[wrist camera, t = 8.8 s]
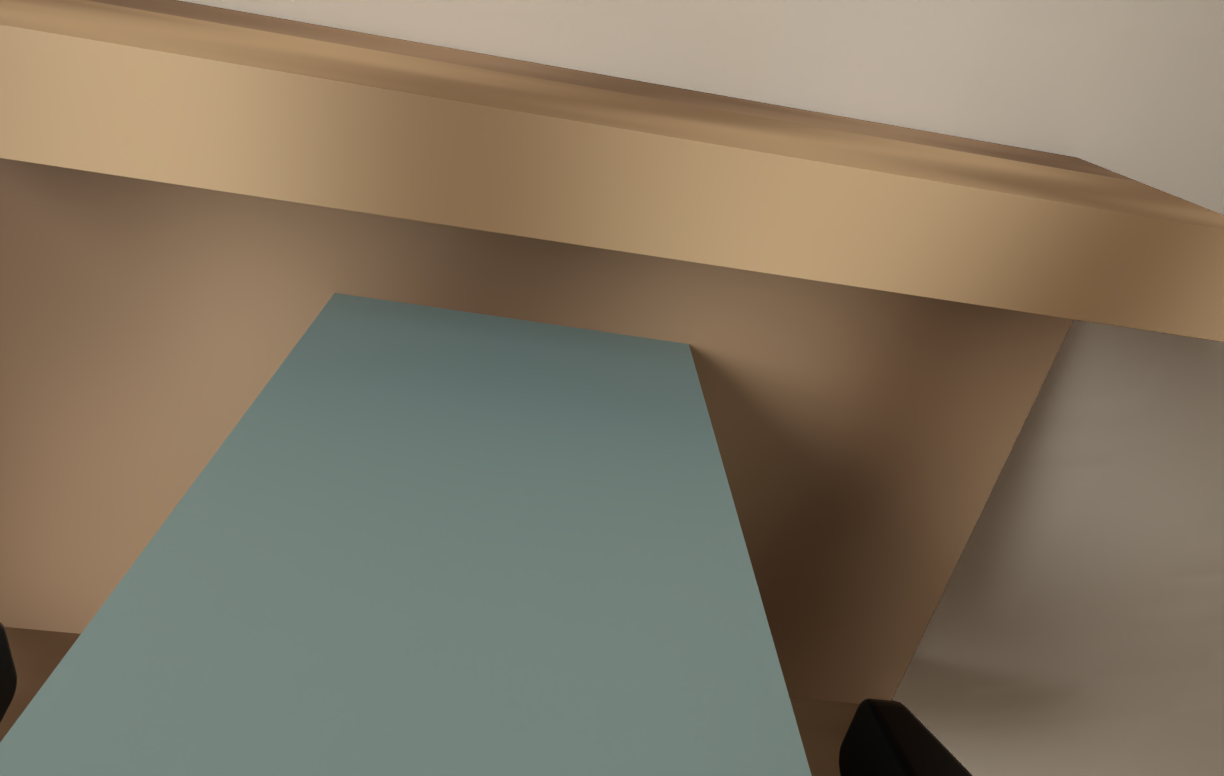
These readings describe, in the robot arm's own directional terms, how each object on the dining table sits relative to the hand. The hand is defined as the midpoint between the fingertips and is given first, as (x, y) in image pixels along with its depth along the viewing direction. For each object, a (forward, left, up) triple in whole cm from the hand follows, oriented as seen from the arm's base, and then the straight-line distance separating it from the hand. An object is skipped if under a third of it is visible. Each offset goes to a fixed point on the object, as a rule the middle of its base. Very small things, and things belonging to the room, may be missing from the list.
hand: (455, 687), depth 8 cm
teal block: (0, 0, -4) cm, 4 cm away
